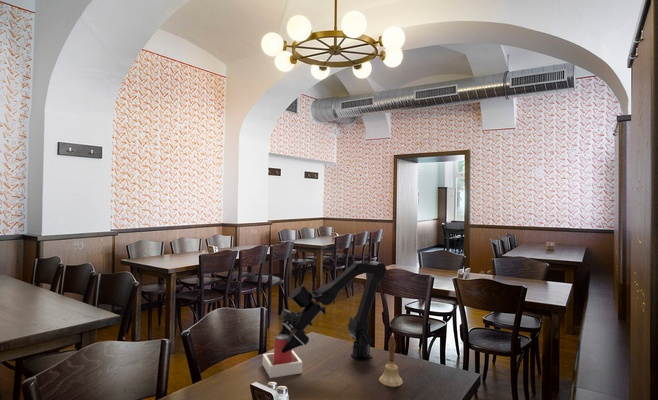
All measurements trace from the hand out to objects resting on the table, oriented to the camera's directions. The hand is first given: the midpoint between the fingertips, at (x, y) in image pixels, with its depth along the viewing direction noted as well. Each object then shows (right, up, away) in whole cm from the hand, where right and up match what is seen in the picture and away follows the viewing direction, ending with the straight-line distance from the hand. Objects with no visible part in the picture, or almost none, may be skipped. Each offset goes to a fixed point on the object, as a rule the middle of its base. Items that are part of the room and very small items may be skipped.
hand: (278, 347), depth 143 cm
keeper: (+1, -8, 0) cm, 8 cm away
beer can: (+1, -8, +1) cm, 8 cm away
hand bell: (+41, -9, -8) cm, 42 cm away
